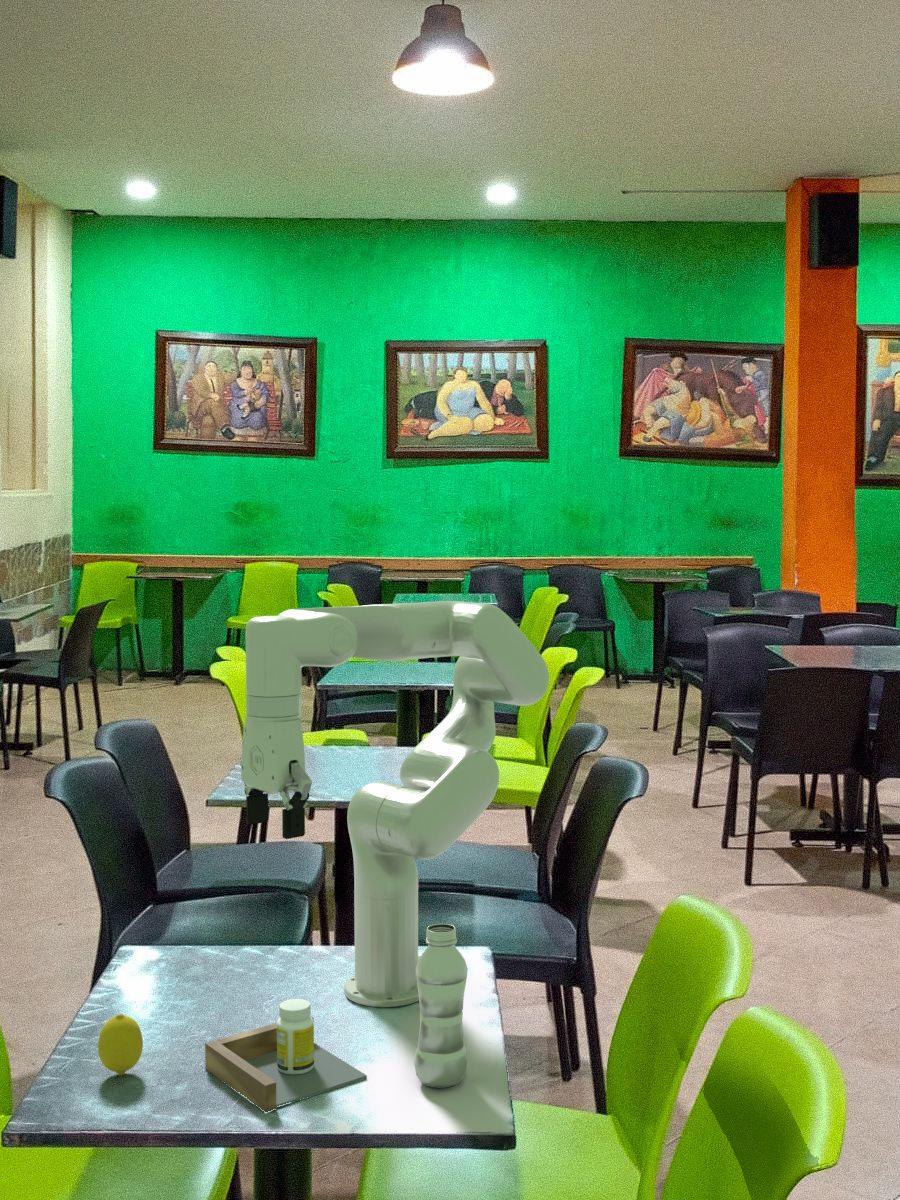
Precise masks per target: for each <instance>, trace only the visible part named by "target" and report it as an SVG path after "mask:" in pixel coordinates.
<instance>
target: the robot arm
mask: <svg viewBox="0 0 900 1200" xmlns="http://www.w3.org/2000/svg"><path fill="white" fill-rule="evenodd" d="M244 633H245V694H246V695H245V699H246V700H245V703H246V705H245V708H246V710H245V711H246V713H245V714H246V715H245V719H244V724H243V731H242V732H243V733H242V741H241V742H242V744H241V760H240V762H239V764H240V767H241V772H240V773H241V781H242V783H243V784H244V786H245V787H244V790H243V791H244V795H245V796H246V799H245V800H246V801H245V802H246V805H245V806H246V811H245V812H246V813H245V814H246V824H247V825H249V826H251V825H258V824H263V823H267V822H269V794H270V795H276V794H278V793H279V795H280V797H281V801H282V803H283V806H284V808H283V809H281V814H282V815H281V817H282V818H281V819H282V820H281V822H282V824H281V825H282V827H281V828H282V829H281V831H282V838H283V839H285V840H289V839H295V838H301V837H304V836H305V835H306V815H305V813H306V812H305V811H306V810H305V808H307V806H308V800H309V799H310V792H311V788H312V783H313V781H312V779H311V777H309V775H308V773H306V760H305V759H306V758H305V744H304V734H303V726H302V721H301V718H302V716H303V715H302V714H303V712H302V709H303V708H302V700H303V699H302V698H303V697H302V691H303V689H302V684H303V683H302V668H304V667H321V668H333V667H334V668H335V667H338V666H341V665H343V664H345V663H346V662H348V661H349V660H350V659H351V658H354V659H362V660H369V661H379V662H380V661H381V662H404V661H411V660H420V659H429V658H430V659H431V658H432V659H433V658H442V657H443V658H445V657H458V659H457V661H456V662H455V665H454V669H453V676H452V677H453V678H452V679H453V682H452V683H453V687H452V689H453V692H452V694H453V695H452V702H451V707H450V710H449V712H448V713H447V714H446V716H445V717H444V718H443V719H442V720H441V721H440V722H439V724H438V725H436V726H435V728H433V730H431V731H430V732H429V733H428V734H427V735H426V736H425V737H424V738H423V739H422V740H421V741H420V742H419V743H418V744H417V745H416V746H414V748H413V749H412V750H411V751H410V752H409V753H408V754H407V756H406V757H405V758H404V760H403V762H402V763H401V766H400V770H399V779H400V782H401V784H402V785H399V784H395V783H391V782H385V781H378V782H377V781H376V782H371V783H370V782H369V783H367V784H365V785H363V786H362V787H360V788H359V789H358V790H356V792H355V793H353V795H352V797H351V799H350V801H349V805H348V807H347V812H346V813H347V814H346V815H347V817H346V819H347V820H346V821H347V829H348V834H349V838H350V839H349V840H350V844H351V849H352V857H353V877H354V887H353V888H354V890H353V894H354V898H353V899H354V901H353V902H354V903H353V907H354V913H353V914H354V915H353V916H354V975H353V976H351V977H350V978H349V979H348V980H346V982H345V983H344V987H343V988H344V989H343V990H344V995H345V996H346V998H348V999H349V1000H350V1001H351V1002H354V1003H355V1004H359V1005H362V1006H368V1007H375V1008H392V1007H393V1008H395V1007H402V1006H407V1005H410V1004H413V1003H417V1002H419V994H418V987H417V978H416V967H417V963H418V961H419V959H420V957H421V956H422V955H419V874H418V873H419V872H418V868H417V863H416V859H418V860H431V859H436V858H437V857H438V856H440V855H442V854H443V853H445V852H446V851H447V850H448V849H450V847H452V846H453V845H454V844H455V842H456V841H458V839H459V838H460V837H461V836H462V835H463V834H464V833H465V832H466V831H467V830H468V828H470V826H472V825H473V823H474V822H476V820H477V819H478V818H479V817H480V816H481V815H482V814H483V813H484V812H485V811H486V809H488V807H489V806H490V804H491V803H492V802H493V800H494V798H495V796H496V794H497V790H498V787H499V784H500V771H499V770H500V769H499V766H498V762H497V761H496V759H495V758H494V756H493V755H492V754H491V753H490V752H489V750H490V749H491V747H492V746H493V744H494V741H495V737H496V731H497V730H496V719H495V706H494V705H495V703H500V704H506V705H511V706H518V707H519V706H521V707H523V706H525V707H527V706H531V705H534V704H536V703H538V702H540V700H542V698H544V696H545V695H546V693H547V690H548V688H549V685H550V684H549V683H550V672H549V668H548V665H547V663H546V661H545V659H544V657H543V656H542V655H541V653H540V652H539V650H538V649H537V648H536V647H535V646H534V644H533V643H532V642H531V641H530V640H529V638H528V637H527V636H526V635H525V633H524V632H523V631H522V629H521V628H520V627H519V626H518V624H516V622H515V621H513V619H512V618H511V617H510V616H509V615H508V614H507V613H505V612H504V611H503V610H502V609H501V608H499V607H498V606H496V605H494V604H491V603H486V602H485V603H484V602H472V601H471V602H470V601H461V600H441V601H438V600H437V601H426V602H425V601H423V602H420V601H419V602H405V603H402V602H401V603H381V604H380V603H379V604H367V605H356V606H355V605H354V606H331V607H330V606H327V607H326V606H325V607H322V606H321V607H308V608H306V607H305V608H304V607H303V608H291V609H290V608H289V609H286V610H285V611H282V612H280V613H279V614H277V615H262V616H255V617H253V618H251V619H249V620H248V621H247V623H246V625H245V632H244ZM290 794H292V796H291V797H290Z"/></svg>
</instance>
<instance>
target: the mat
mask: <svg viewBox="0 0 900 1200" xmlns="http://www.w3.org/2000/svg"><path fill="white" fill-rule="evenodd" d="M245 1061H246V1062H248V1063H249V1064H251V1065H252V1066H254V1067H255V1068H256V1069H258V1070H259V1071H261V1072H262V1073H264V1074H265V1075H267V1076H268V1077H269V1078H271V1079H272V1080H274V1081H275V1082H276V1104H277V1106H279V1105H283V1104H286V1103H289V1102H293V1101H297V1102H299V1101H298V1100H300V1099H303V1098H306V1099H308V1098H307V1097H309V1098H312V1097H314V1095H315V1096H317V1094H318V1095H321V1094H324V1093H327V1092H330V1091H333V1090H336V1089H338V1088H342V1087H345V1086H348V1085H352V1084H354V1083H357V1082H360V1081H363V1080H365V1079H367V1078H368V1075H367V1074H365V1073H364V1072H362V1071H361V1070H359V1069H357V1068H355V1067H354V1066H352V1065H351V1064H349V1063H348V1062H345V1060H343V1059H341V1058H339V1057H337V1056H336V1055H334V1054H333V1053H331V1052H329V1051H328V1050H326V1049H325V1048H323V1047H321V1046H320V1045H318V1044H316V1043H315V1042H314V1067H313V1069H312V1070H310V1071H309V1072H307V1073H304V1074H299V1075H289V1074H284V1073H282V1072H280V1071H279V1070H278V1067H277V1051H274V1052H271V1053H268V1054H264V1055H261V1056H258V1057H254V1058H251V1059H248V1060H245ZM311 1096H312V1097H311ZM303 1100H304V1099H303ZM300 1101H301V1100H300Z"/></svg>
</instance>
